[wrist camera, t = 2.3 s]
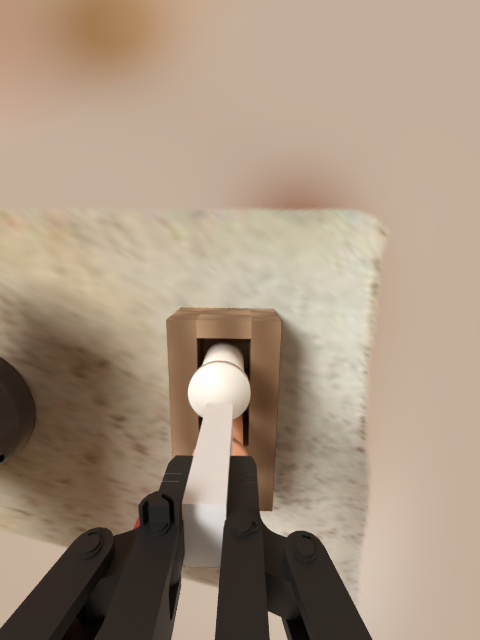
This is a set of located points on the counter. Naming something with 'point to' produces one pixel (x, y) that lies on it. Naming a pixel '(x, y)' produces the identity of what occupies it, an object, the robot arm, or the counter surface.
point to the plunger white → (220, 380)
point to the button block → (259, 365)
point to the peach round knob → (237, 438)
